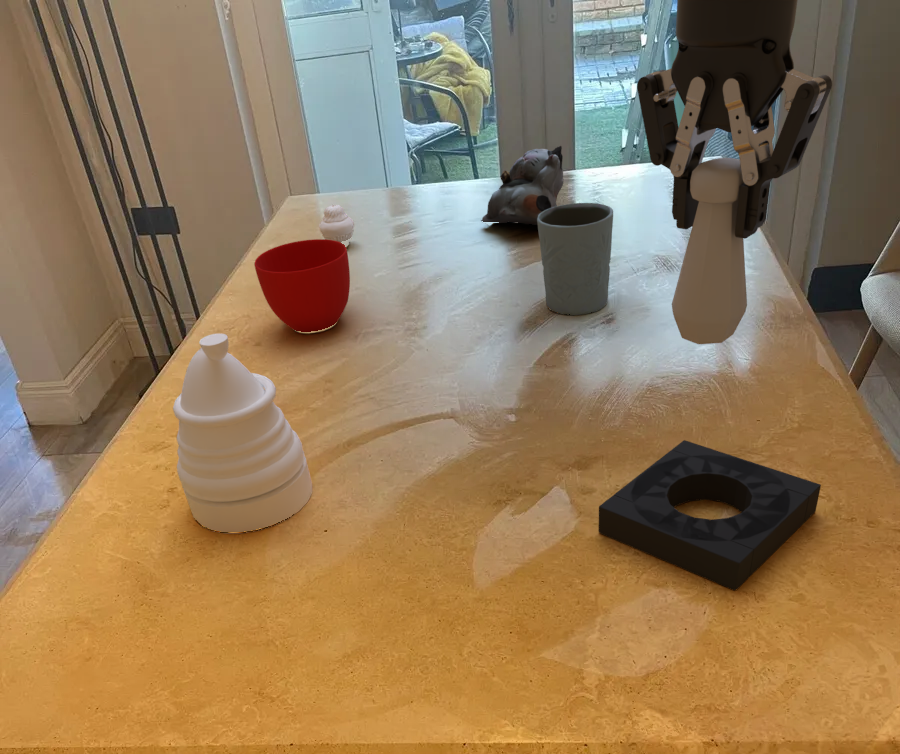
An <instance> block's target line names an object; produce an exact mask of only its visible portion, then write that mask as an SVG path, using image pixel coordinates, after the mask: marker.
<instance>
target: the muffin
mask: <svg viewBox="0 0 900 754" xmlns="http://www.w3.org/2000/svg"><path fill="white" fill-rule="evenodd" d="M318 228H319V232H320V233H321V234H322V237H323V238H324V239H326V240H334V241H338V242H342V241H346V240H348V239H350V238H351V237H352V238H353V235H354V228H355V222H354V220H353V218H352V217H350V216H349V215H348V214H347V212H345V208H344V207H343V206H341V205H339V204H332V205H329V206H327V207H326V208H325V209H324V211H323V217H322V220H321V221H320V222H319V225H318ZM352 238H351V239H352Z"/></svg>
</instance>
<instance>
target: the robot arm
mask: <svg viewBox="0 0 900 754" xmlns="http://www.w3.org/2000/svg"><path fill="white" fill-rule="evenodd" d="M797 8H798V0H676V18H675V19H676V21H675V38H676V40H677V43H678V48H677V53H676V55H675V58H674V60H673V62H672V64H671V68H668V69H660V70H657V71H654V72H651V73H649V74H646V75H644V76H642V77H640V78H639V79H638V81H637V84H636V89H637V90H636V91H637V95H638V100H639V106H640V111H641V116H642V122H643V126H644V133H645V137H646V142H647V148H648V153H649V158H650V162H651V163H652V165H653V166H657V167H658V166H663V167H664V168H666V169H668V170H669V171H670V174H671V175H672V176H673V188H672V205H671V214H672V218H673V221H675V220H676V223H675V225H676V228H677V229H681V230H688V229H691V228H692V226H693V222H694V219H695V215H696V211H697V207H698V204H699V201H697V200H695V199H693V198H692V195H691V192H690V179H691V175H692V171H693V170H694V169H695V168H696V167H697V166H698V165H699V164H700V163H702V162H703V161H704V157H705V154H706V151H707V147H708V145H709V142H710V140H711V139H712V137H713V136H714V134H715V133H716V131H717V129H719V130H722V131H724V132H726V133H731V137H732V138H731V140H732V146H733V150H734V152H736V153H737V154H738V159H739V160H740V166H741V172H742V179H743V182H744V184H742V185H740V187H739V197H738V207H737V216H736V226H735V237H738V238H743V240H745V239H747V238H750V237H751V236H752V235H754V234H756V232H757V231H758V229H759V228H761V227H763V225H764V224H765V222H766V219H767V214H768V213H767V212H768V204H769V198H770V197H769V196H770V188H771V183H772V180H773V179H778V178H780V177H782V176H784V175H785V174H788V173H790V172H791V171H793V170H795V169H797V168H798V167H799V166H800V164H801V162H802V161H803V157H804V155H805V153H806V150H807V148H808V146H809V143H810V142H811V138H812V136H813V134H814V131H815V128H816V126H817V124H818V121H819V119H820V116H821V114H822V112H823V110H824V107H825V105H826V102H827V100H828V97H829V95H830V93H831V89H832V88H833V81H832V78H831V77H830V76H829V75H828V74H822V75H820V76H817V77H814V76H812V75H809V74H807V73H804V72H801V71H800V70H797V69H795V64H794V59H793V57H792V53H791V39H792V35H793V31H794V27H795V23H796V15H797ZM783 91H784V93H785V101H784V109H785V111H786V112H787V115H786V117H785V119H784V122H783V125H782V128H781V131H780V133H779V135H778V138H777V141H776V143H775V146H774V144H773V139H774V137H775V135H776V134H775V131H776V130H775V122H774V115H773V114H774V113H773V107H772V106H773V104H775V102H776V101H777V99H778V98H779V96H780V95H781V94H782V93H783ZM677 94H678V95H679V97H680V99H681V102H682V103H683V106H684V108H683V112H682V115H681V119H680V121H679V123H678V117H677V111H676V105H675V98H676V96H677ZM752 128H753V129H752Z"/></svg>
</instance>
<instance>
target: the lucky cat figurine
mask: <svg viewBox="0 0 900 754" xmlns="http://www.w3.org/2000/svg"><path fill="white" fill-rule="evenodd" d="M562 149H563V146H562V145H559V146H557V147H555V148H554V149H553V150H550V149H548V148H533V149H531V150H530V149H529V150H527V151H526V152H525V153H524V154H523V155H522V156H521V157H519V158H518V159H516V160H515V162H514V163H513V164H512V166H511V167H510V169H509V171H508V170H503V172H502V173H501V174H500V177H499V178H500V180H501V182H502V184H501V185H500V186H499V188H498V189H497V190H495V191H494V192H493V193H492V194H491V196H490V198H489V201H488V203H487V211H486V214H485V215H483V216H482V219H480V222H482V221H483V222H499V223H498V224H508V223H507V222H518V223H525V224H524V225H529V224H532V225H531V226H538V224H537V218H538V215H539V214H540V213H541V212H543V211H545V210H547V209H549V208H553V207H556V206H558V205H557V199H558V195H559V193H560V191H561V189H562V188H563V185H564V181H565V180H564V171H563V154H562ZM483 222H482V223H483ZM518 223H517V224H518Z"/></svg>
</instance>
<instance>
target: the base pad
mask: <svg viewBox="0 0 900 754" xmlns="http://www.w3.org/2000/svg"><path fill="white" fill-rule="evenodd" d="M821 488H822V484H821V483H817V482H815V481H811V480H808V479H805V478H803V477H798V476H796V475H792V474H790V473H787V472H783V471H781V470H778V469H774V468H772V467H768V466H765V465H762V464H759V463H756V462H753V461H750V460H747V459H744V458H741V457H737V456H734V455H731V454H729V453H726V452H722V451H719V450H716V449H714V448H710V447H706V446H704V445H700V444H698V443H694V442H691V441H688V440H686V439H684V440H682V441H681V442H680V443H678V444H677V445H676V446H675V447H673V448H672V449H671V450H669V451H668V452H666V454H664V455H662V456H661V457H660V458H659V459H658V460H657V461H655V462H654V463H653V464H651V465H650V466H649V467H648V468H645V470H643V471H642V472H641V473H640V474H639V475H637V476H636V477H635V478H633V479H632V480H631V481H629V482H628V483H627V484H626V485H624V486H623V487H622V488H621V489H618V491H616V492H614V494H613V495H611V497H608V499H606V500H605V501H604V502H602V503H601V504H599V506H598V533H599V534H601V535H603V536H604V537H605V536H606V537H608V538H610V539H612V540H614V541H617V542H620V543H621V544H624V545H627V546H629V547H631V548H634V549H636V550H638V551H640V552H643V553H645V554H648V555H650V556H652V557H654V558H657V559H660V560H662V561H664V562H666V563H669V564H670V565H673V566H676V567H678V568H681V569H683V570H685V571H687V572H690V573H692V574H695V575H697V576H699V577H701V578H704V579H706V580H709V581H711V582H713V583H715V582H716V584H718V585H720V584H721V585H720V586H723V587H724V588H727V587H728V588H727V589H730V590H732V589H733V590H732V591H734V590H736V589H737V590H738V589H739V588H740V587H741V586H742V585H743V584H744V583H745V582H746V581H747V580H748V579H749V578H750V577H752V575H754V574H755V572H756V571H758V569H759V568H760V567H761V566H762V565H763V564H765V562H766V561H767V560H768V559H769V558H771V556H773V554H774V553H775V552H776V551H778V549H780V548H781V547H782V546H783V545H784V544H785V543H786V542H787V541H788V539H790V537H792V536H793V535H794V534H795V532H797V531H798V529H800V528H801V527H802V526H803V525H804V524H805V523H806V522H807V521H808V520H809V519H810V518H811V517H812V516H813V515H814V514H815V513H816V511H817V507H818V501H819V497H820V492H821ZM704 500H706V501H712V502H720V503H724V504H727V505H728V506H731V507H734V508H735V509H736V510H738V512H740V513H737V514H735V515H732V516H730V517H725V518H722V517H721V518H713V519H709V518H703V517H702V518H701V517H695V516H691V515H689V514H688V513H687V514H686V513H684V512H681V511H679V509H676V507H677V506H679V505H682V504H685V503H688V502H694V501H695V502H696V501H704ZM737 590H736V591H737Z"/></svg>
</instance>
